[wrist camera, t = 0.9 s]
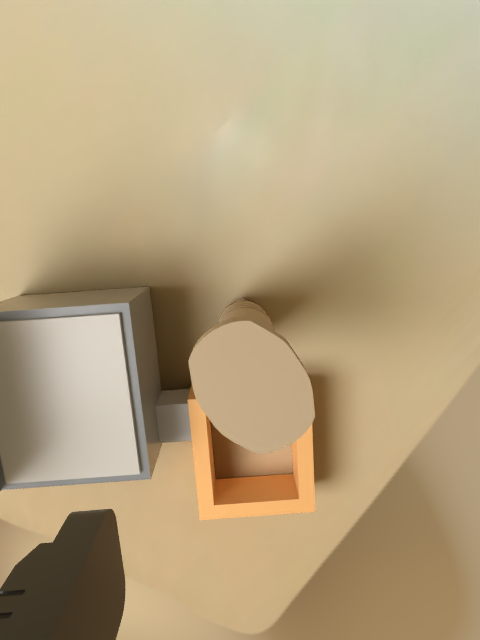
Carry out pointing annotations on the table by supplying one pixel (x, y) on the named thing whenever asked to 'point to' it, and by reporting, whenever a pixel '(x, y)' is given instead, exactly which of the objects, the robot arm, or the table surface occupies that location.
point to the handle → (251, 381)
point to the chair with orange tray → (113, 406)
